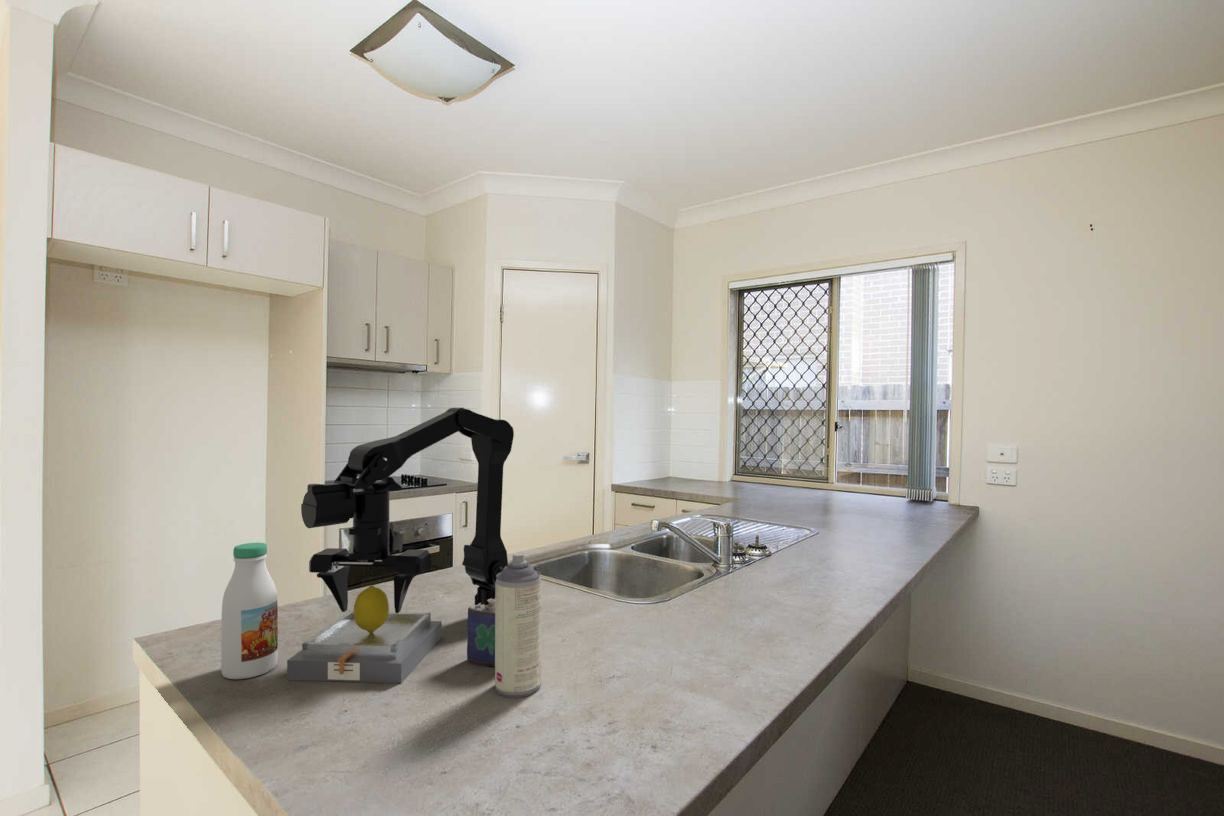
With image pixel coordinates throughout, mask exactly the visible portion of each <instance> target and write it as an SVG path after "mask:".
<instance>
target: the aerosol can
mask: <svg viewBox="0 0 1224 816" xmlns="http://www.w3.org/2000/svg"><path fill="white" fill-rule="evenodd" d="M496 577H497V579H496V582H495V667H494V689H495V693H497V695H500V696H501V697H505V698H510V699H513V698H514V699H517V698H525V697H528V696H531V695H534V694H536V693H538V692H539V690H540V689H541V686H542V683H541V682H542V675H541V674H542V579H541V573H540V572H539V570H538V571H537V570H535V568H534V567H533V565H530V563H529V562H528V561H527V560H526V559H525V553H521V552H516V553H512V560H510V562H508V566H506V567H505V568H504V569H503V570H502V572H500V573H498V574H497V575H496Z"/></svg>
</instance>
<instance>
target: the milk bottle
mask: <svg viewBox="0 0 1224 816" xmlns="http://www.w3.org/2000/svg"><path fill="white" fill-rule="evenodd" d="M232 551H233V554H232V555H233V562H234V569H233V572H232V575H231V577H230V580H229V581H228V583H227V585H226V588H225V590H224V593H223V596H222V603H221V627H220V628H221V631H220V633H221V635H220V636H221V639H220V642H221V646H220V647H221V649H220V651H221V653H220V654H221V656H220V657H221V659H220V661H221V662H220V663H221V665H220V666H221V668H220V669H221V671H220V672H221V674H222V676H223V678H225V679H230V680H243V679H250V678H254V677H258V676H260V675H264V674H266V673H269V672H271V671H273V670H274V668H275V667H276V666H277V664H278V657H279V654H278V653H279V652H278V651H279V650H278V649H279V646H278V645H279V641H278V640H279V639H278V637H279V635H278V633H279V632H278V630H279V629H278V628H279V626H278V625H279V614H278V613H279V612H278V611H279V610H278V607H279V606H278V605H279V604H278V593H277V586H276V585H275V584H276V583H275V581H274V580H273V578H272V576H271V574H270V573H269V570H268V567H267V564H266V559H267V557H268V556H267V555H268V545H267V544H266V543H265V542H247V543H242V544H239V545H236V546H234V547H233V550H232Z"/></svg>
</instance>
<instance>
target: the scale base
mask: <svg viewBox="0 0 1224 816" xmlns="http://www.w3.org/2000/svg"><path fill="white" fill-rule="evenodd" d="M442 626H443V625H442V620H441V621H440V620H438V621H437V620H431V624H430V625H429V626H428V627H427V628H426V629H425V630H424V631H423V632H422V633H421V634H420V635H419V636H418V637H417V638H416V639H415V640H414V641H413V642H412V643H411V644H410V645H409V646H408V647H407V648H406V649H405V650H404V651H403V653H402V654H401V655H400V656H399V657H398V658H397V659H371V658H349V659H348V660H347V661H346V662H345V663H344V674H339V663H338V659H339V658H335V657H302V649H301V650H300V651H298V652H297V653H296V654H294V655H292V656H291V657H290V658H288V659H287V660H286V663H287V664H286V665H287V666H286V680H287V681H311V682H315V681H316V682H318V681H319V682H321V681H322V682H323V681H324V682H343V683H344V682H349V683H351V682H352V683H353V682H354V683H378V682H379V684H380V682H381V683H382V682H383V683H382V684H385V683H386V684H403V682H404V681H405V680H406V678H408V676H409V675H410V674H411V673H412V672H413V670H415V669H416V667H417V666H418V665H419V664H420V663H421V662H422V661H423V659H424V658H425V657H426V656H427V655H428V654H429V653H430V651H431V650H433V648H434V647H435V646H436V645H437V644H438V643H439V641H440V640H441V639H442V638H443V637H442V633H443V632H442V629H443V628H442Z"/></svg>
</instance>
